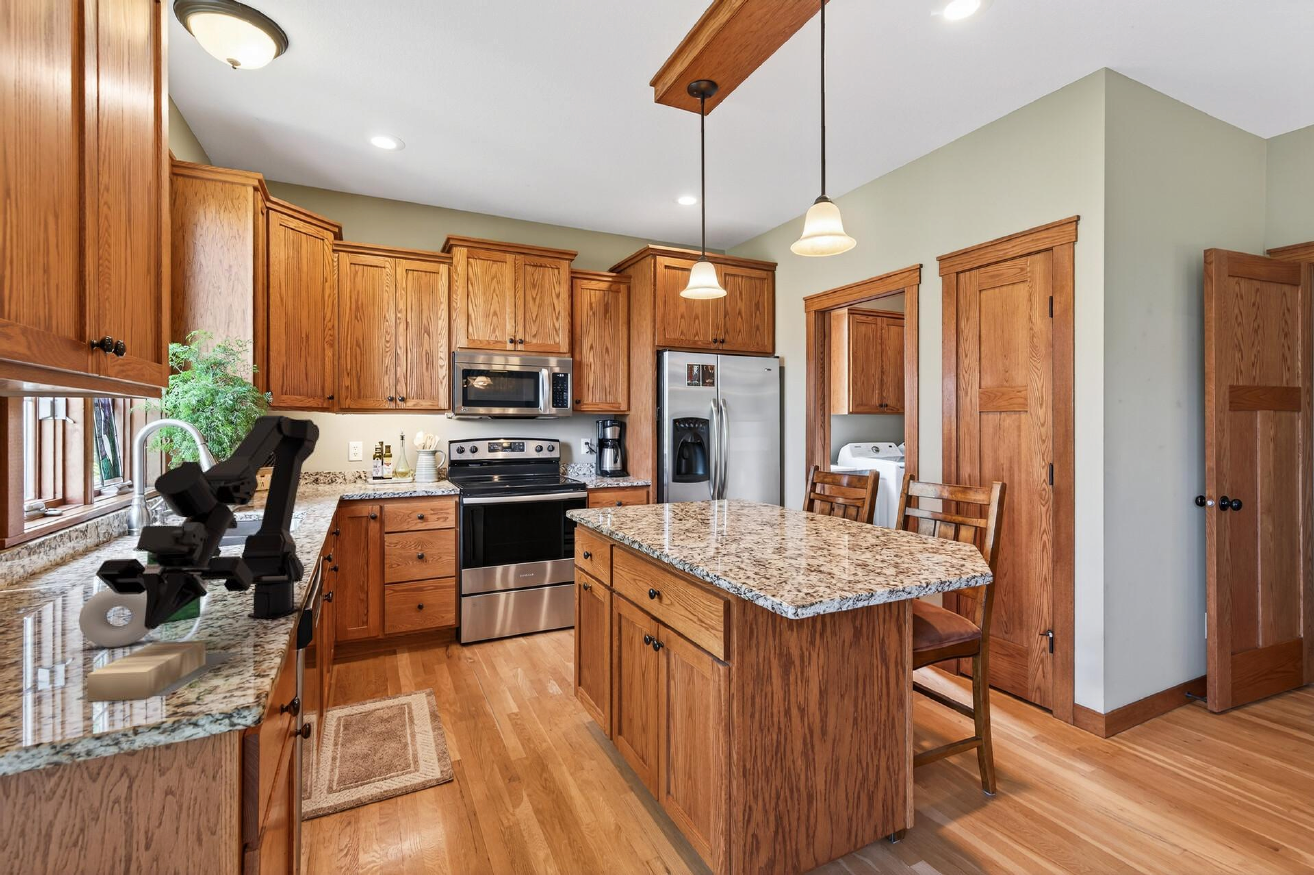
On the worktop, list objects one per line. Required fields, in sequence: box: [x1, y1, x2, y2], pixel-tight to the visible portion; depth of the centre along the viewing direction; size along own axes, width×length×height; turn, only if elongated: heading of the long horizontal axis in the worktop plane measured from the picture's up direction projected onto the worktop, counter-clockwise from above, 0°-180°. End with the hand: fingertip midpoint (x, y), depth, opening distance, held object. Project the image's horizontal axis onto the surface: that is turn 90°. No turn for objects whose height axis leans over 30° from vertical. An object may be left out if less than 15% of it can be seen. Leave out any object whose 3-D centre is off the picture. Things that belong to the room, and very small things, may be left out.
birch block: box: [86, 640, 206, 702], centre depth 84 cm, size 4×7×12 cm
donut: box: [78, 587, 152, 648], centre depth 99 cm, size 10×3×10 cm, turn 114°
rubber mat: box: [76, 651, 239, 701], centre depth 87 cm, size 16×11×1 cm
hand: (148, 628), depth 84 cm, fingers closed
